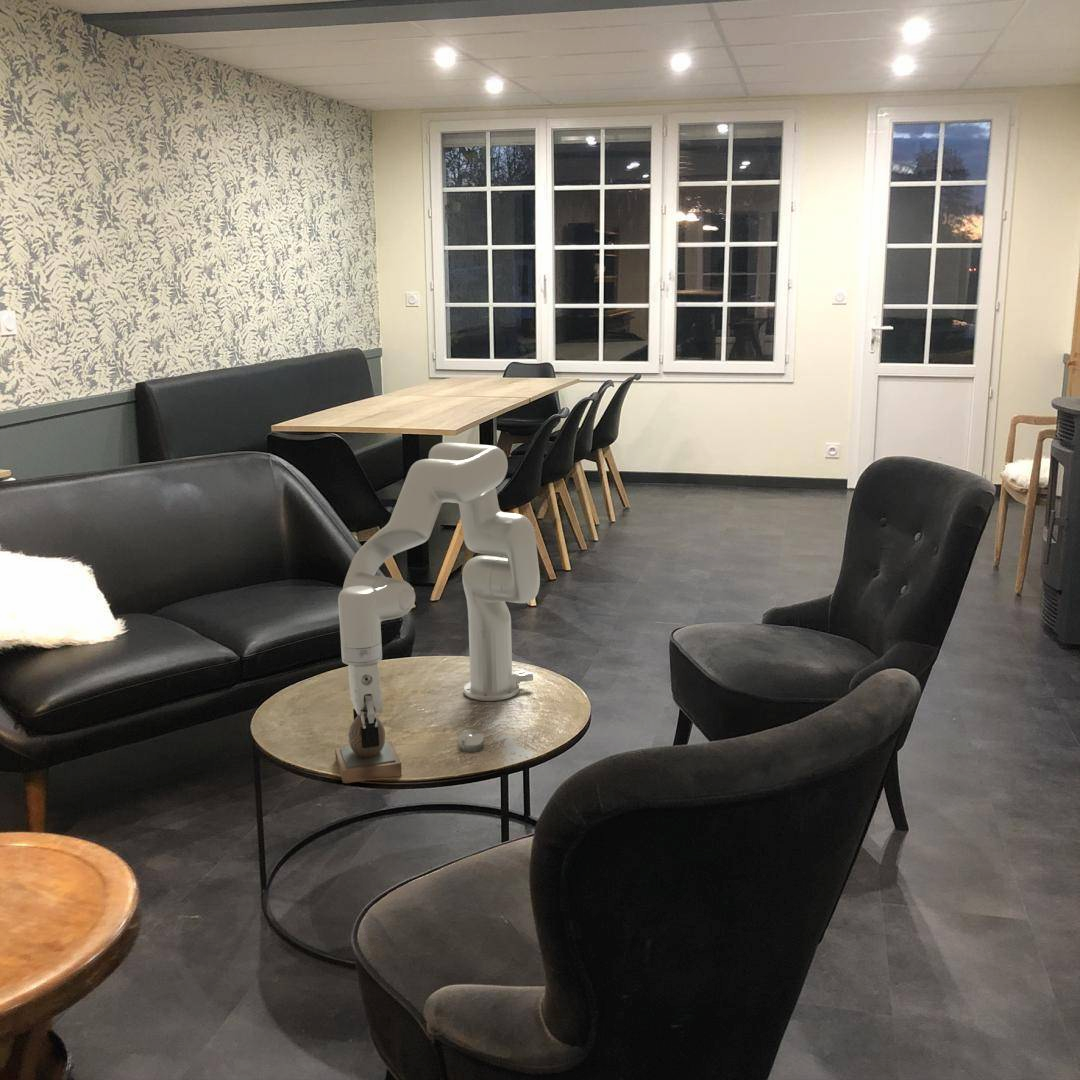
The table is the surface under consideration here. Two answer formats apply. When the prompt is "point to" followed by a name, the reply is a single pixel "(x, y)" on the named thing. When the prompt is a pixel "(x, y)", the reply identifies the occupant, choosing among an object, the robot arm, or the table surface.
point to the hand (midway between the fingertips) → (366, 736)
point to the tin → (470, 741)
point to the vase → (357, 743)
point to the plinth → (367, 764)
